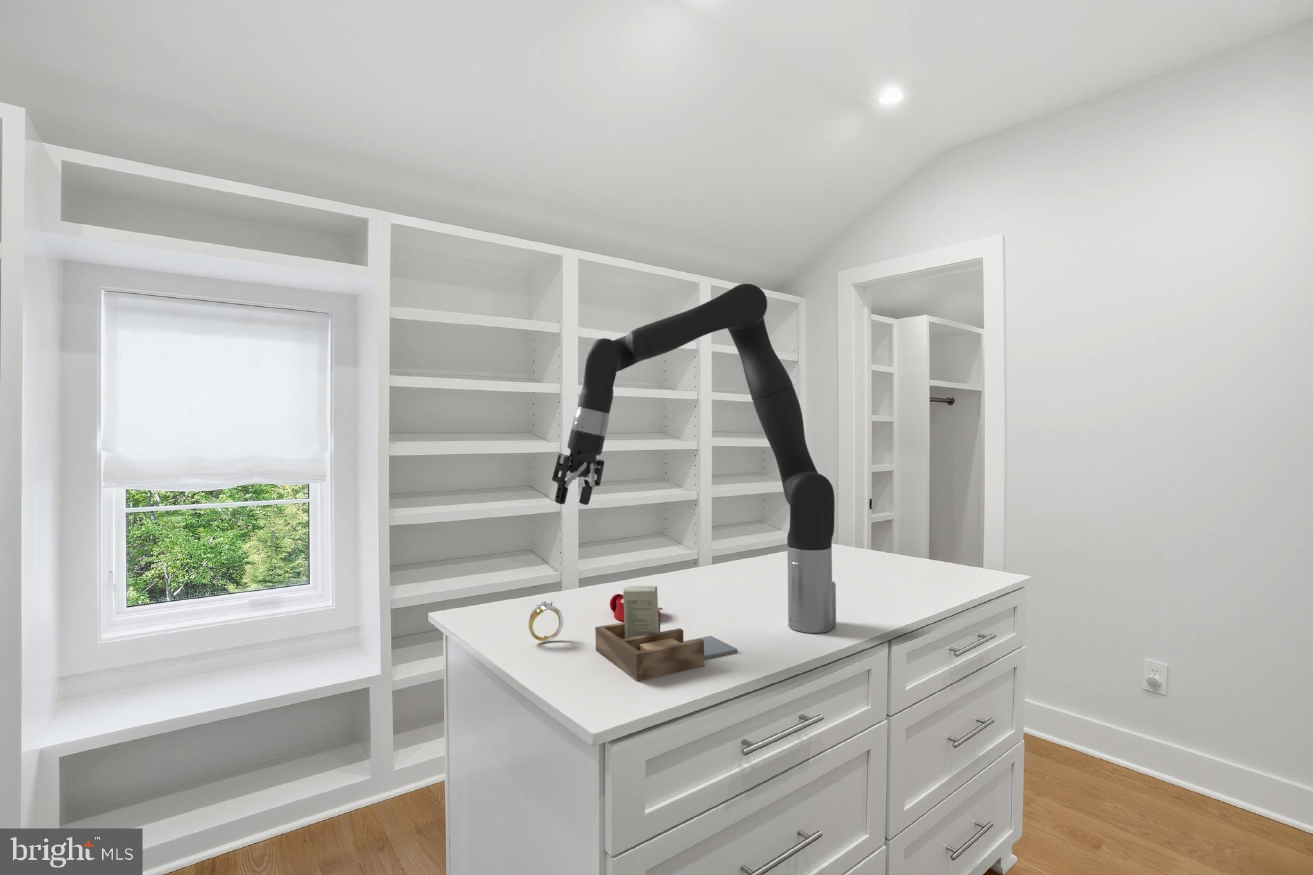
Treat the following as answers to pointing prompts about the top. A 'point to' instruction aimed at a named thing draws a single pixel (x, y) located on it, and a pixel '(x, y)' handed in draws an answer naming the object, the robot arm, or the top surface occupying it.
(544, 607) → the engagement ring
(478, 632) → the top surface
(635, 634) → the skincare box
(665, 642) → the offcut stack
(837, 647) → the top surface
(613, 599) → the alarm clock
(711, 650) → the slate mat
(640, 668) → the walnut rack
